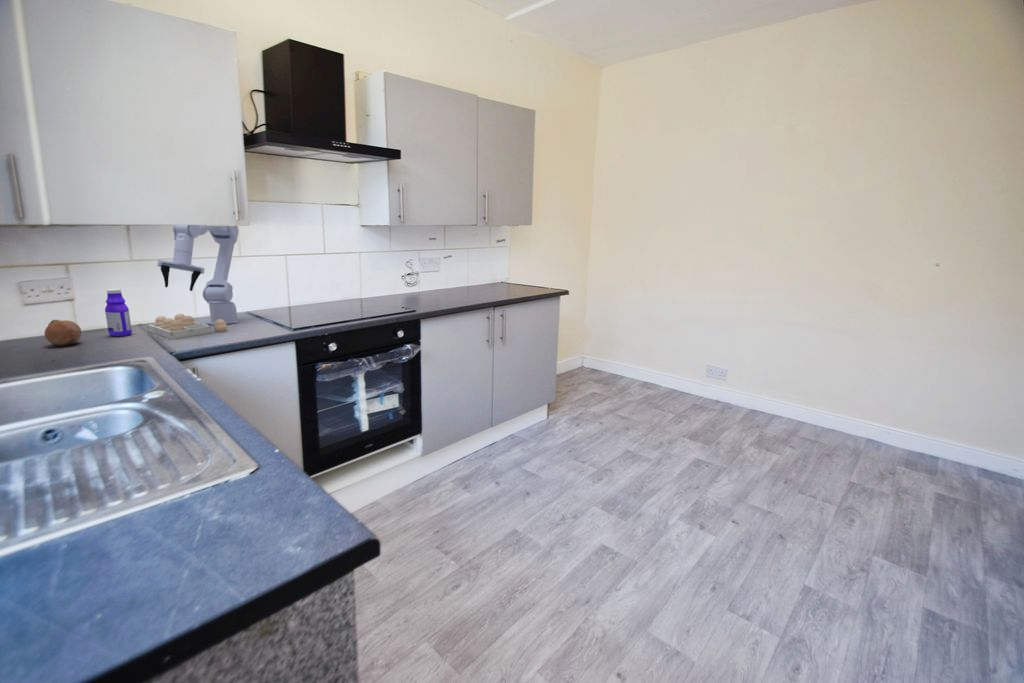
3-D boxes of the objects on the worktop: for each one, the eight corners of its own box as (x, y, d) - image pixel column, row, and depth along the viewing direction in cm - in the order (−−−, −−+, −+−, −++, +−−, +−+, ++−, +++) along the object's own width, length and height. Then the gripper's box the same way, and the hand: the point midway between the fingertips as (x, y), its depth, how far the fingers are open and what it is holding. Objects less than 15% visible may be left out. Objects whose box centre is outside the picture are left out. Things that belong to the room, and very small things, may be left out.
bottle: (136, 334, 192) (129, 288, 188) (123, 337, 186) (115, 290, 182) (118, 333, 192) (111, 288, 188) (105, 336, 187) (97, 290, 183)
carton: (187, 325, 208) (185, 311, 206) (211, 332, 196) (209, 317, 195) (148, 331, 197) (145, 316, 195) (171, 339, 185) (169, 323, 184)
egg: (223, 330, 202) (222, 317, 201) (228, 331, 199) (227, 319, 198) (213, 331, 198) (211, 319, 197) (218, 333, 196) (216, 320, 195)
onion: (53, 354, 173) (33, 329, 170) (82, 341, 181) (63, 317, 178) (62, 348, 168) (41, 322, 165) (92, 335, 175) (72, 310, 173)
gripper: (160, 246, 180) (156, 282, 178) (207, 255, 189) (203, 290, 187) (158, 250, 186) (154, 286, 184) (204, 259, 195) (200, 293, 193)
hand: (178, 288), depth 186 cm, fingers open, 7 cm apart
